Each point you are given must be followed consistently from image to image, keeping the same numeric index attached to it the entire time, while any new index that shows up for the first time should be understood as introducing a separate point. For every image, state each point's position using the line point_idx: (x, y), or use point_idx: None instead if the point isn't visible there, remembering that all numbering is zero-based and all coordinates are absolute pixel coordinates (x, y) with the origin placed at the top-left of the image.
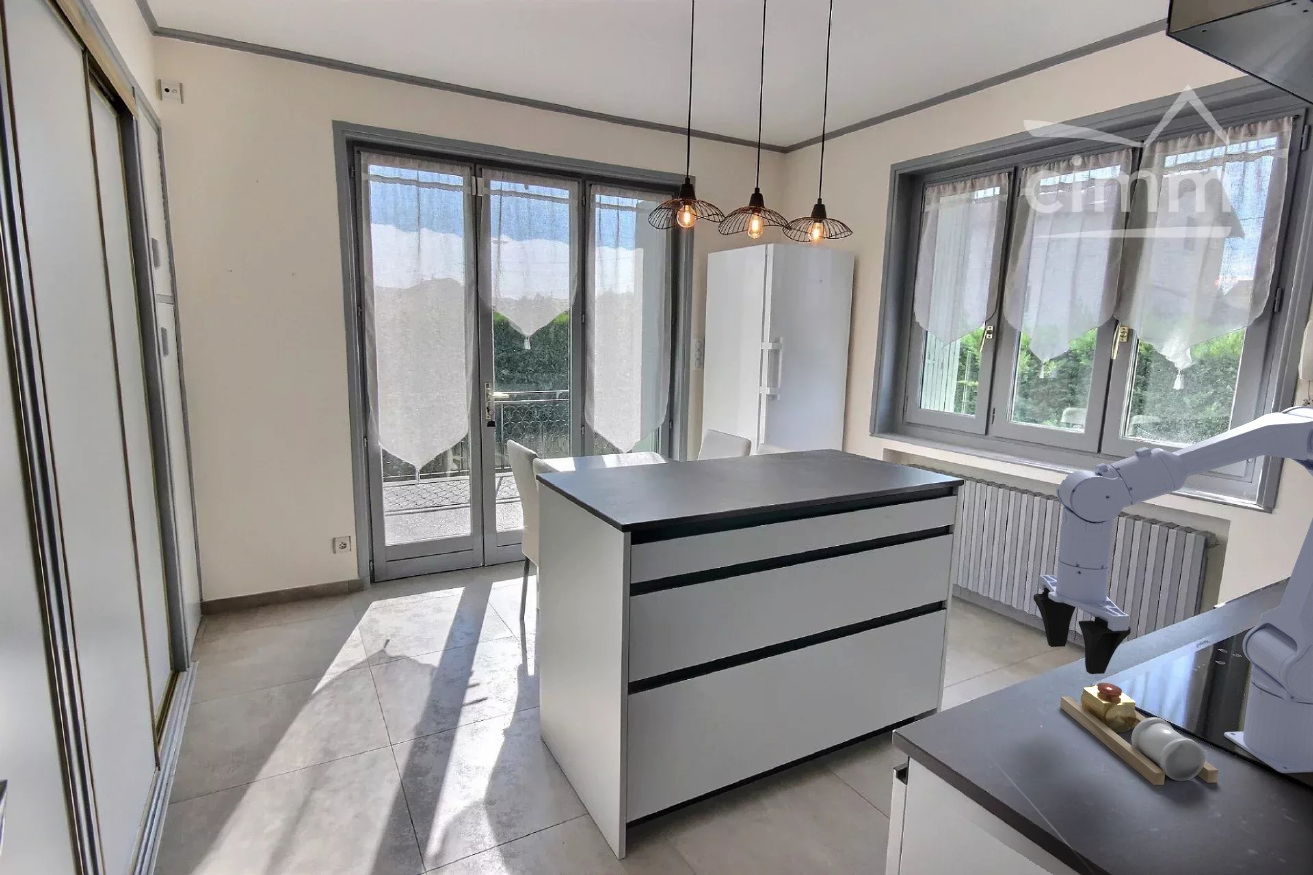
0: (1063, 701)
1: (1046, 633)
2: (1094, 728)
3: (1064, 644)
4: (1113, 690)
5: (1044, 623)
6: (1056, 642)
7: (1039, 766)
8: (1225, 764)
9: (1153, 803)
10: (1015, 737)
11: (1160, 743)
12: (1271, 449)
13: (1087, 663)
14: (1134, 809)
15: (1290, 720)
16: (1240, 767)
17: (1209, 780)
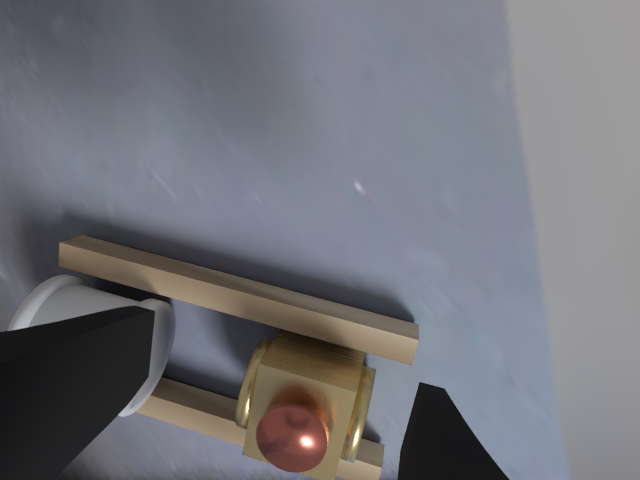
0: (404, 331)
1: (457, 418)
2: (269, 293)
3: (400, 455)
4: (272, 435)
5: (485, 461)
6: (413, 423)
7: (197, 14)
8: (126, 450)
9: (40, 177)
10: (330, 55)
11: (58, 312)
12: None
13: (106, 313)
14: (28, 115)
15: None
16: (113, 465)
17: None
